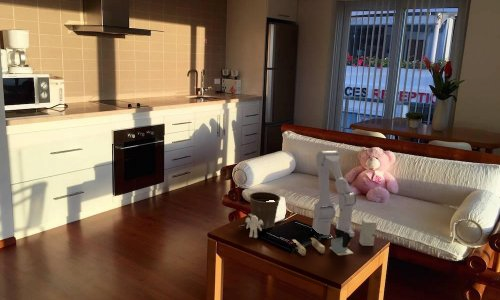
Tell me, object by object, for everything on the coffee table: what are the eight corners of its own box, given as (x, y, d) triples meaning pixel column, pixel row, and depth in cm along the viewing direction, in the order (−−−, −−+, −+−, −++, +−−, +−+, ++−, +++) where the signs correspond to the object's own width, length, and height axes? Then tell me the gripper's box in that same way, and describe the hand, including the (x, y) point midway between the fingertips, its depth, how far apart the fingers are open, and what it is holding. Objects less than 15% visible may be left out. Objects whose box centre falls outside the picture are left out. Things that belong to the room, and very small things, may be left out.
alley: (291, 245, 213) (292, 239, 212) (312, 243, 217) (313, 237, 216) (302, 255, 203) (302, 249, 202) (324, 252, 207) (325, 247, 206)
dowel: (334, 237, 226) (334, 234, 225) (336, 237, 226) (337, 234, 226) (346, 246, 215) (347, 243, 215) (349, 246, 216) (350, 243, 215)
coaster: (329, 248, 212) (329, 247, 212) (343, 246, 215) (344, 245, 215) (338, 255, 205) (338, 254, 205) (353, 253, 208) (353, 252, 208)
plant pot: (275, 233, 225) (277, 203, 222) (244, 229, 228) (246, 199, 225) (279, 222, 241) (282, 194, 238) (250, 218, 244) (252, 190, 241)
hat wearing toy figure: (243, 236, 220) (245, 213, 217) (245, 233, 223) (247, 211, 221) (261, 239, 217) (262, 216, 215) (263, 236, 221) (264, 213, 218)
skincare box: (362, 245, 217) (365, 222, 215) (358, 242, 222) (361, 219, 219) (374, 245, 218) (377, 222, 216) (370, 242, 223) (373, 219, 220)
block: (342, 246, 213) (342, 236, 211) (347, 250, 209) (347, 240, 207) (331, 249, 211) (331, 239, 209) (336, 253, 207) (336, 243, 205)
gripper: (329, 213, 212) (326, 239, 215) (346, 224, 199) (343, 252, 202) (342, 211, 214) (339, 238, 217) (359, 223, 201) (356, 250, 204)
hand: (342, 245), depth 210 cm, fingers closed on block, 4 cm apart
